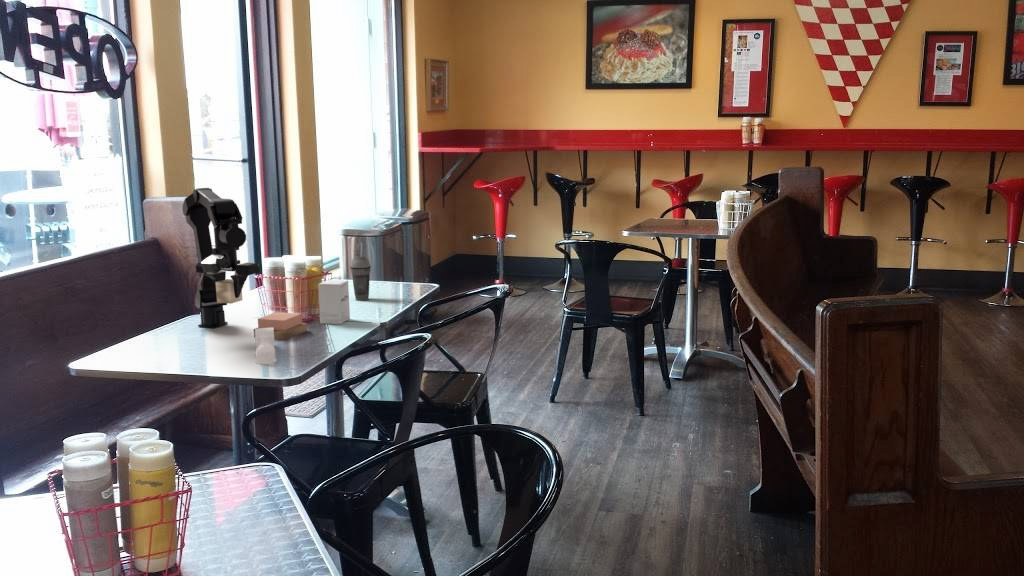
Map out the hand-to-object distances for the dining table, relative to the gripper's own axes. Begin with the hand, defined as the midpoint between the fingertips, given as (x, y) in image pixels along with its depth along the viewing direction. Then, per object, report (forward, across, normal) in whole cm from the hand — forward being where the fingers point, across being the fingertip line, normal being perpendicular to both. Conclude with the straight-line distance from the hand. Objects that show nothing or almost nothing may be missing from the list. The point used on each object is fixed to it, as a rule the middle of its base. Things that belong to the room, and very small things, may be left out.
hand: (229, 297), depth 258 cm
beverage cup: (+12, +7, +59) cm, 61 cm away
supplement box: (+12, +17, +28) cm, 35 cm away
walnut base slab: (+13, +11, +8) cm, 19 cm away
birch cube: (+1, 0, 0) cm, 1 cm away
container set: (+13, +21, -12) cm, 28 cm away
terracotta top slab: (+10, +11, +8) cm, 17 cm away
